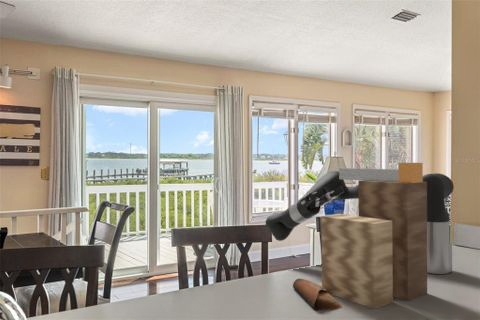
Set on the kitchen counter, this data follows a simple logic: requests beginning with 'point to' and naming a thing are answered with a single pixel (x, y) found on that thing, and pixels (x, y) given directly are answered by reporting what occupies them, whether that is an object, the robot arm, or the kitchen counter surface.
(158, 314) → the kitchen counter surface
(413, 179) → the steel pin
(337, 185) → the robot arm
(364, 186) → the walnut stand
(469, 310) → the kitchen counter surface
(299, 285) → the sunglasses case
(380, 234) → the beige slab
